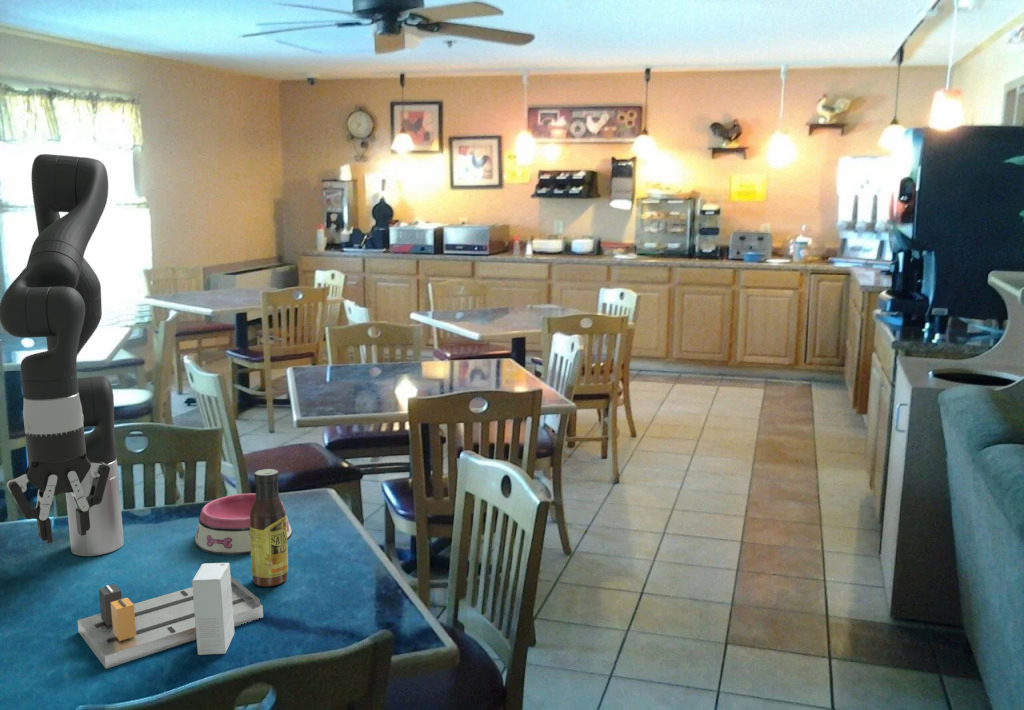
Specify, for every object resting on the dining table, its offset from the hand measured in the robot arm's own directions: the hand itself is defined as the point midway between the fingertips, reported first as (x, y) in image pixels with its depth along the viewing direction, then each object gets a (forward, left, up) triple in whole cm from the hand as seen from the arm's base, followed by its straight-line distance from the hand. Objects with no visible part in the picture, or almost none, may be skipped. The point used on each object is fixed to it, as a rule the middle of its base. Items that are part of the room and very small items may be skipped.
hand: (65, 537), depth 129 cm
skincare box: (+14, +16, -17) cm, 27 cm away
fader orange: (+6, +5, -15) cm, 17 cm away
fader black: (0, +6, -15) cm, 16 cm away
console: (+3, +14, -17) cm, 22 cm away
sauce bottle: (-2, +33, -17) cm, 37 cm away
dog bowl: (-24, +37, -18) cm, 48 cm away
